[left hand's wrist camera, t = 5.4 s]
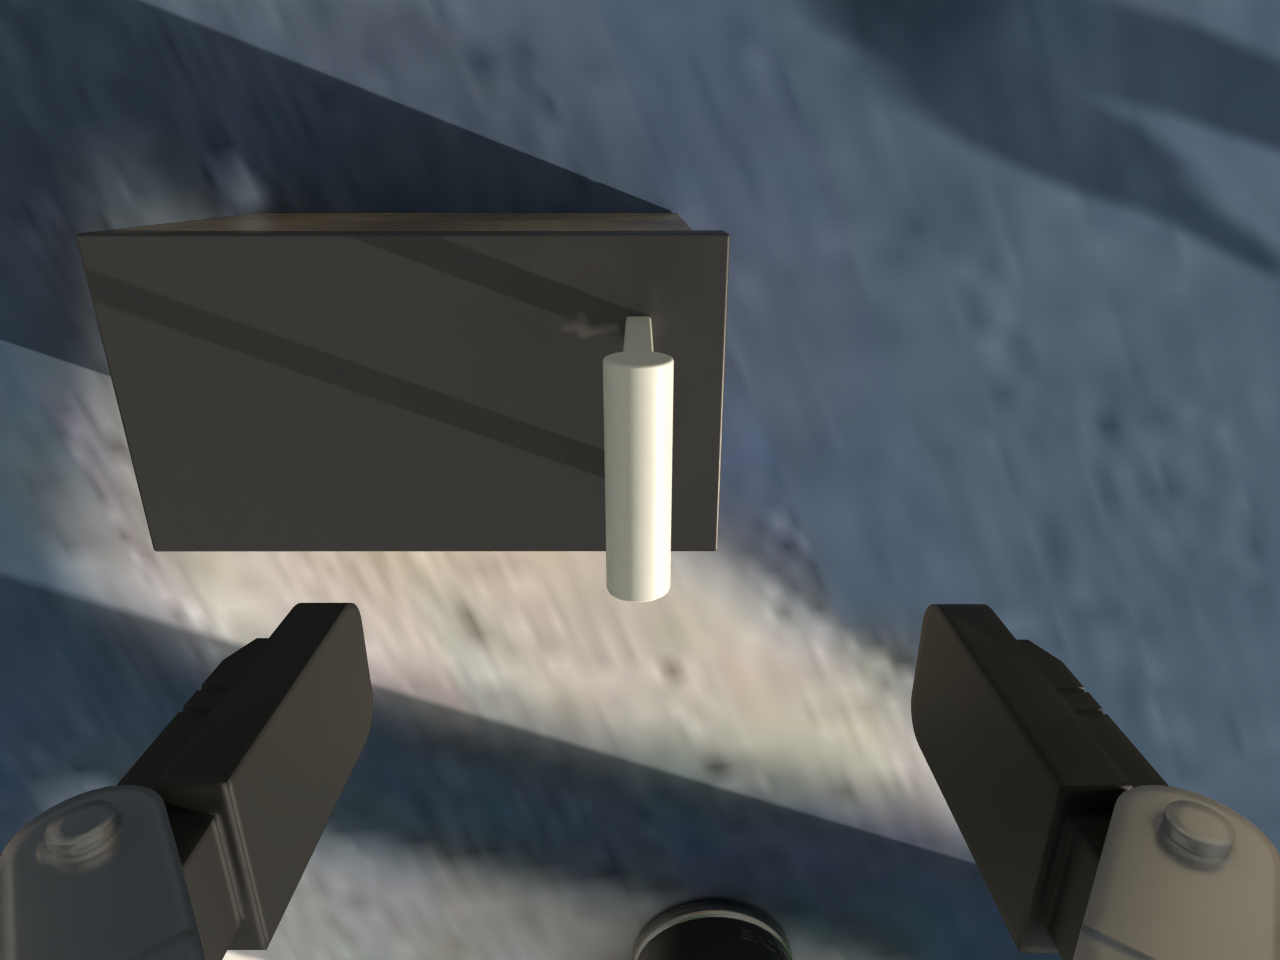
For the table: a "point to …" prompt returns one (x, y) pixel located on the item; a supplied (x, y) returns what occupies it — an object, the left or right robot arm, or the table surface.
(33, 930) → the left robot arm
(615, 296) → the lid
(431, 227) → the chest
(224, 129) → the table surface
